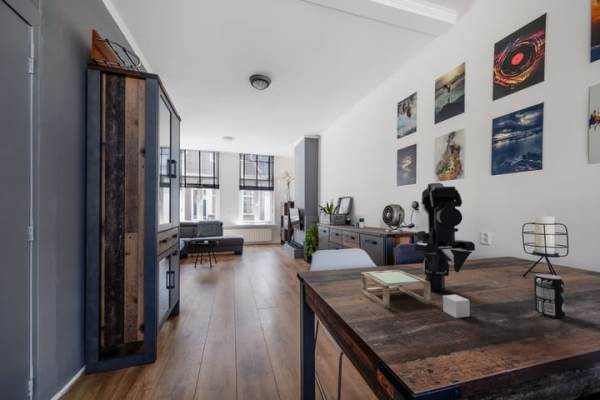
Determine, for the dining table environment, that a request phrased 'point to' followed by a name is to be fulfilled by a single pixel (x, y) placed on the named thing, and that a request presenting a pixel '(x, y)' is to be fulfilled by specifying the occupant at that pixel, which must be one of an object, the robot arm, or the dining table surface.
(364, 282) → the trapdoor frame
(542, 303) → the beverage can
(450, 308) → the plain light gray cube
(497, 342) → the dining table surface
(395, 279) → the trapdoor
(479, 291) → the dining table surface
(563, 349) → the dining table surface
